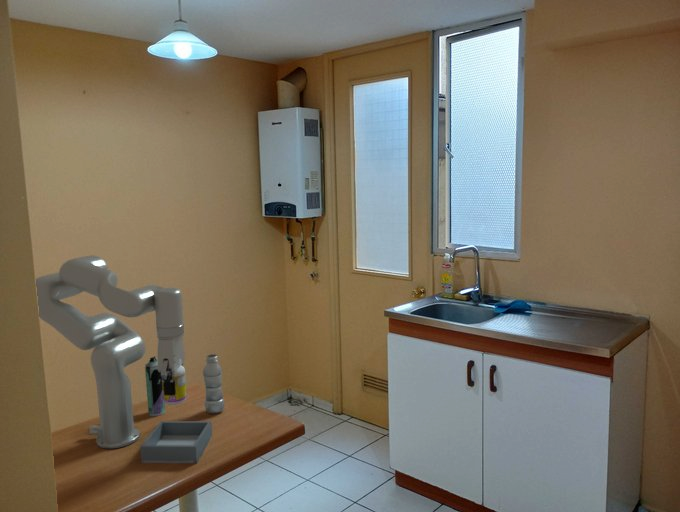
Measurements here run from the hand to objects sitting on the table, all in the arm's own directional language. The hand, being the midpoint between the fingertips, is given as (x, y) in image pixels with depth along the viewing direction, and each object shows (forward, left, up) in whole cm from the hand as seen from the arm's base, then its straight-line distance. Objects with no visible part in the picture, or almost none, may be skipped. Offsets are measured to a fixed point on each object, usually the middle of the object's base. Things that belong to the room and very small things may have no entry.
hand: (174, 389), depth 162 cm
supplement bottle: (0, 0, -4) cm, 4 cm away
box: (0, 0, -19) cm, 19 cm away
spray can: (-16, +25, -19) cm, 35 cm away
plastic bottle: (+4, +26, -19) cm, 32 cm away
